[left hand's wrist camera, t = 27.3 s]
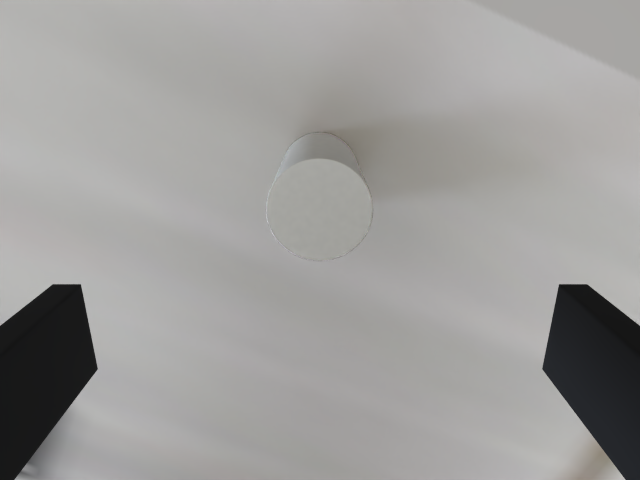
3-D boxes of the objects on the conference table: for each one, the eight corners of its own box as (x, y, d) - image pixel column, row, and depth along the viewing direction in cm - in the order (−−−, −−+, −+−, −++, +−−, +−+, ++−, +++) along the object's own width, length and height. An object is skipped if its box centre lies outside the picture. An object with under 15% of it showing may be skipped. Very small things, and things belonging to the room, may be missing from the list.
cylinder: (357, 131, 32) (374, 156, 22) (356, 205, 34) (372, 260, 24) (280, 133, 32) (262, 159, 22) (283, 207, 34) (269, 262, 24)
